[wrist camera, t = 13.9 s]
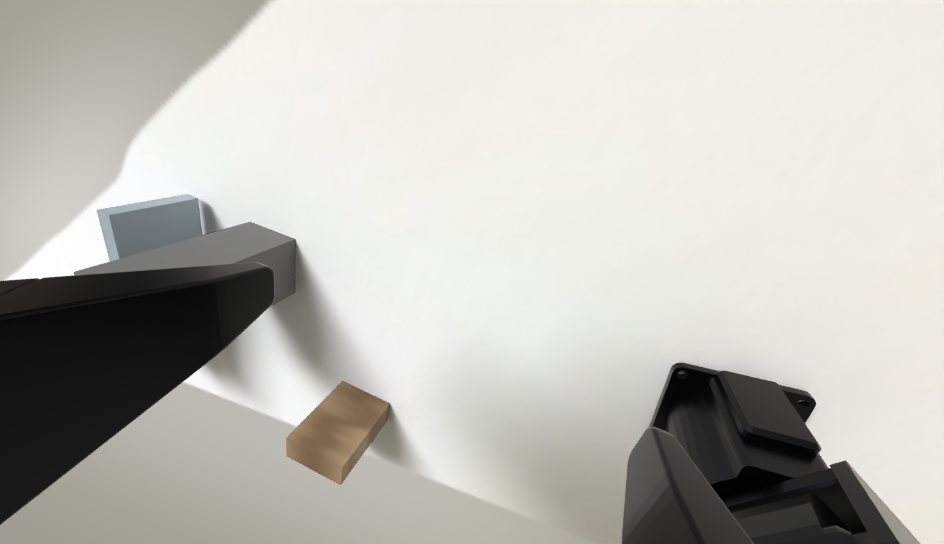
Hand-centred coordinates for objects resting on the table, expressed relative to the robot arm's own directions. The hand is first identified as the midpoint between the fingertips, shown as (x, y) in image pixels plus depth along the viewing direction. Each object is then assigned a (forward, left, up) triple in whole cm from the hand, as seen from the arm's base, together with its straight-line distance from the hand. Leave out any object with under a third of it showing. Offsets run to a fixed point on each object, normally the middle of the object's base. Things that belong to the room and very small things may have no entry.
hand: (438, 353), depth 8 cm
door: (-9, +27, -13) cm, 31 cm away
